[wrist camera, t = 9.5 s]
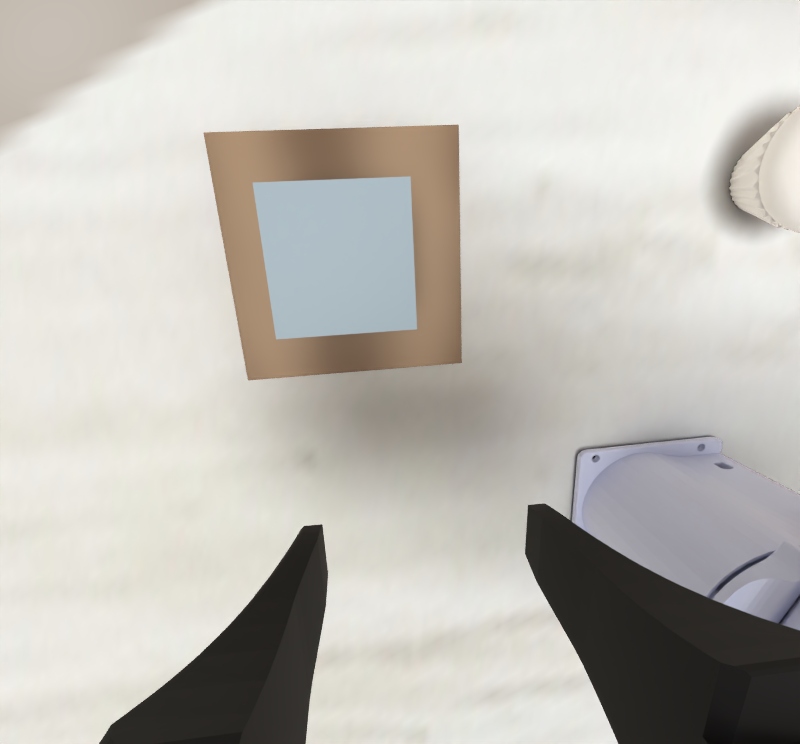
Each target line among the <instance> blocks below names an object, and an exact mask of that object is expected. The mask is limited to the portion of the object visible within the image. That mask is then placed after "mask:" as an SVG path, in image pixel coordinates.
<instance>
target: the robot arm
mask: <svg viewBox="0 0 800 744" xmlns="http://www.w3.org/2000/svg"><path fill="white" fill-rule="evenodd" d="M698 446H699V447H698ZM721 450H722V441H721V440H720V439H718V438H716V437H703V438H693V439H684V440H674V441H664V442H655V443H645V444H636V445H626V446H616V447H607V448H597V449H587V450H583V451H581V452H580V453H579V454H578V457H577V466H576V478H575V490H574V503H573V515H572V521H570V520H569V519H567V518H566V517H564V516H563V515H561V514H560V513H559V512H557V511H556V510H554V509H553V508H551V507H549V506H548V505H546V504H535V505H528V516H527V532H526V548H525V554H526V557H527V559H528V562H529V564H530V567H531V569H532V571H533V574H534V576H535V578H536V581H537V583H538V585H539V586H540V588H541V590H542V592H543V594H544V595H545V597H546V599H547V601H548V603H549V604H550V606H551V608H552V610H553V611H554V613H555V615H556V617H557V618H558V620H559V622H560V624H561V625H562V627H563V629H564V631H565V632H566V634H567V636H568V638H569V639H570V641H571V643H572V645H573V646H574V648H575V650H576V652H577V654H578V656H579V658H580V660H581V662H582V663H583V665H584V668H585V670H586V672H587V674H588V676H589V678H590V681H591V683H592V685H593V687H594V689H595V691H596V694H597V696H598V698H599V700H600V702H601V705H602V707H603V709H604V712H605V714H606V716H607V718H608V721H609V723H610V725H611V728H612V730H613V732H614V734H615V737H616V739H617V741H618V744H800V494H798V493H796V492H794V491H792V490H790V489H788V488H786V487H784V486H782V485H780V484H779V483H777V482H775V481H773V480H771V479H769V478H767V477H765V476H763V475H761V474H759V473H757V472H755V471H753V470H751V469H749V468H748V467H746V466H744V465H742V464H740V463H738V462H736V461H734V460H732V459H730V458H728V457H726V456H724V455H722V454H721ZM595 455H596V457H595V458H594V459H592V457H593V456H595ZM327 580H328V570H327V562H326V553H325V544H324V535H323V527H322V525H312V526H304V527H303V528H302V529H301V530H300V532H299V534H298V535H297V537H296V539H295V540H294V542H293V543H292V545H291V547H290V548H289V550H288V551H287V553H286V554H285V556H284V557H283V559H282V560H281V561H280V563H279V564H278V566H277V567H276V569H275V570H274V571H273V573H272V574H271V576H270V577H269V578H268V580H267V581H266V582H265V583H264V585H263V586H262V587H261V589H260V590H259V591H258V592H257V594H256V595H255V596H254V598H253V599H252V600H251V601H250V602H249V604H248V605H247V606H246V607H245V608H244V609H243V611H242V612H241V613H240V614H239V615H238V616H237V617H236V618H235V619H234V621H233V622H232V623H231V624H230V625H229V626H228V627H227V628H226V629H225V630H224V631H223V632H222V633H221V634H220V635H219V636H218V637H217V638H216V639H215V640H214V641H213V642H212V643H211V644H210V645H209V646H208V647H207V648H206V649H205V650H204V651H203V652H202V653H201V654H200V655H199V656H197V657H196V658H195V659H194V660H193V661H192V662H191V663H190V664H188V665H187V666H186V667H185V668H184V669H183V670H182V671H180V672H179V673H178V674H177V675H176V676H174V677H173V678H172V679H171V680H170V681H168V682H167V683H166V684H165V685H163V686H162V687H161V688H160V689H158V690H157V691H156V692H155V693H153V694H152V695H151V696H149V697H148V698H147V699H145V700H144V701H143V702H141V703H140V704H139V705H137V706H136V707H135V708H133V709H132V710H131V711H129V712H128V713H127V714H125V715H124V716H123V717H121V718H120V719H119V720H117V721H116V722H114V723H113V724H112V725H111V726H110V728H109V729H108V731H107V732H106V734H105V736H104V737H103V739H102V740H101V742H100V743H99V744H305V743H306V732H307V722H308V711H309V701H310V693H311V686H312V680H313V674H314V669H315V663H316V658H317V652H318V646H319V641H320V635H321V630H322V624H323V618H324V613H325V607H326V595H327Z"/></svg>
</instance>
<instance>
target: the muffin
mask: <svg viewBox="0 0 800 744" xmlns="http://www.w3.org/2000/svg"><path fill="white" fill-rule="evenodd" d="M731 175H732V178H731V179H730V182H731V186H730V188H729V189H730V190H731V193H730V195H731V196H732V200H733V201H735V205H737V206H738V208H740V209H742V210H744V211H745V212H747V213H750V214H752V215H754V216H756V217H758V218H760V219H762V220H764V221H766V222H768V223H770V224H772V225H774V226H776V227H778V228H779V227H782V228H784V229H787V230H792V231H794V232H798V233H800V106H799V107H797V108H796V109H795V110H794V111H793V112H789V113H788V114H787V115H786V116H784V117H783V118H782V119H781V120H780V121H779V122H778V123H777V124H776V125H775V126H774V127H772V128H771V129H770V130H769V131H768V132H767V133H766V134H765V135H764V136H763V137H762V138H761V139H759V140H758V141H757V142H756V143H755V144H754V145H753V146H752V147H751V148H750V149H749V150H748V151H747V152H746V153H744V154H743V155H742V157H741V159H740V160H738V162H737V165H736V166H735V167H734V172H732V174H731Z"/></svg>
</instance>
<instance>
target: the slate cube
mask: <svg viewBox="0 0 800 744" xmlns="http://www.w3.org/2000/svg"><path fill="white" fill-rule="evenodd" d="M253 189H254V196H255V203H256V209H257V216H258V222H259V229H260V236H261V242H262V249H263V256H264V262H265V269H266V276H267V282H268V289H269V296H270V302H271V309H272V316H273V322H274V329H275V335H276V339H289V338H303V337H317V336H331V335H345V334H359V333H372V332H386V331H400V330H414V329H417V315H416V291H415V268H414V245H413V222H412V199H411V176H409V177H383V178H357V179H332V180H306V181H280V182H254V183H253Z"/></svg>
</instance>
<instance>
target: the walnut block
mask: <svg viewBox="0 0 800 744" xmlns="http://www.w3.org/2000/svg"><path fill="white" fill-rule="evenodd" d="M204 137H205V143H206V148H207V154H208V159H209V165H210V171H211V176H212V182H213V187H214V193H215V198H216V204H217V210H218V215H219V221H220V226H221V232H222V237H223V243H224V249H225V254H226V260H227V265H228V271H229V276H230V282H231V287H232V293H233V299H234V304H235V310H236V315H237V321H238V326H239V332H240V338H241V343H242V349H243V354H244V360H245V365H246V371H247V377H248V380H258V379H270V378H282V377H295V376H307V375H319V374H331V373H343V372H355V371H368V370H380V369H392V368H404V367H416V366H428V365H441V364H453V363H462V360H461V282H460V203H459V125H436V126H404V127H372V128H339V129H307V130H274V131H242V132H210V133H204ZM409 176H411V199H412V222H413V245H414V268H415V291H416V315H417V329H414V330H400V331H386V332H372V333H359V334H345V335H331V336H317V337H303V338H289V339H276V335H275V329H274V322H273V316H272V309H271V302H270V296H269V289H268V282H267V276H266V269H265V262H264V256H263V249H262V242H261V236H260V229H259V222H258V216H257V209H256V203H255V196H254V189H253V183H254V182H280V181H306V180H332V179H357V178H383V177H409Z"/></svg>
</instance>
